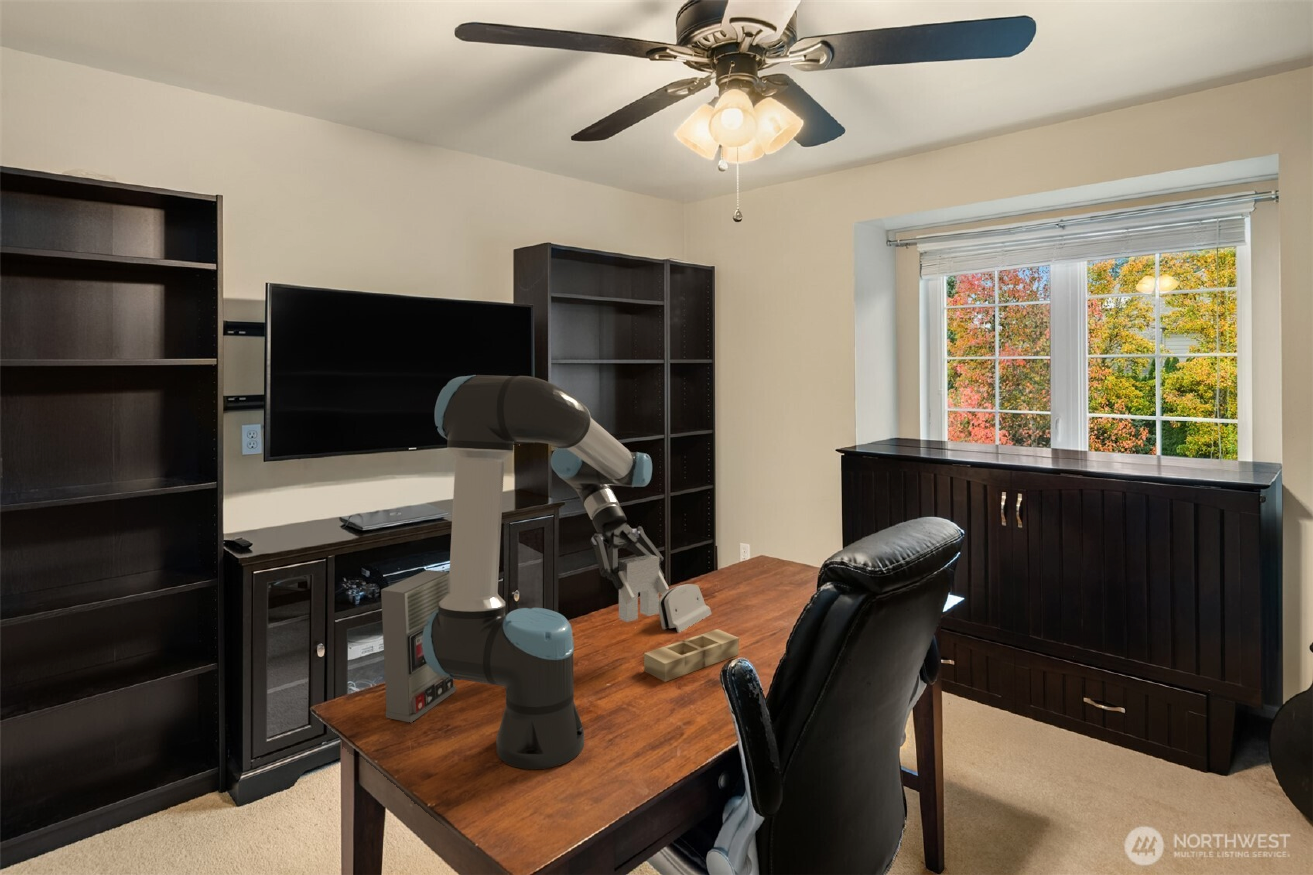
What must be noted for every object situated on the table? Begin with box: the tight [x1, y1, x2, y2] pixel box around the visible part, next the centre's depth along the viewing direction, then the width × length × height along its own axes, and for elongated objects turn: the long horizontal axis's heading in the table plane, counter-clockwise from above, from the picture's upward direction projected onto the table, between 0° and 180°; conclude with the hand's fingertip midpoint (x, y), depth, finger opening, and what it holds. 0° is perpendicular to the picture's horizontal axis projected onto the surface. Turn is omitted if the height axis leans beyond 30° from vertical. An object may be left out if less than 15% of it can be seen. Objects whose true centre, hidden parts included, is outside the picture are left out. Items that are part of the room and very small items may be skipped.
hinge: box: [658, 583, 713, 634], centre depth 188 cm, size 17×5×10 cm, turn 146°
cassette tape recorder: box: [380, 569, 457, 724], centre depth 141 cm, size 14×6×25 cm, turn 160°
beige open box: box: [643, 628, 740, 683], centre depth 162 cm, size 22×7×4 cm, turn 129°
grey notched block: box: [618, 555, 660, 623], centre depth 162 cm, size 9×3×13 cm, turn 129°
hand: (648, 596), depth 160 cm, fingers closed on grey notched block, 9 cm apart
